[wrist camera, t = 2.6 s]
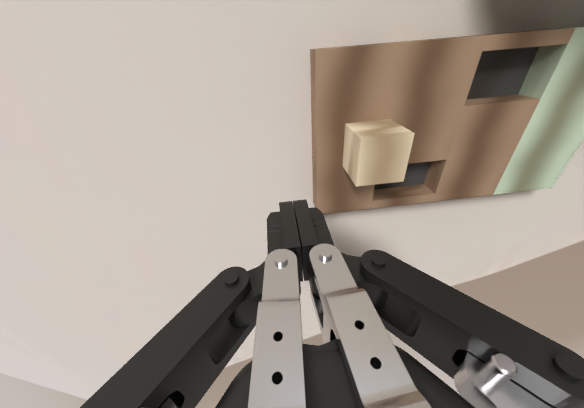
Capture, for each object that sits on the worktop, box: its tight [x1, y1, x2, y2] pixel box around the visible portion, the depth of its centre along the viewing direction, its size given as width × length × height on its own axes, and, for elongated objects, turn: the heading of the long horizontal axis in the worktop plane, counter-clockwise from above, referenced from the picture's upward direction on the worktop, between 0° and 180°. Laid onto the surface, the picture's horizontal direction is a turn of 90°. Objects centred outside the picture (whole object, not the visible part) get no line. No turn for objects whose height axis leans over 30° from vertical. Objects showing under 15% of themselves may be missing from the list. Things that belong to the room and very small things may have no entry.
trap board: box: [310, 27, 584, 214], centre depth 23 cm, size 27×15×2 cm, turn 94°
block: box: [343, 119, 415, 187], centre depth 20 cm, size 4×4×4 cm
